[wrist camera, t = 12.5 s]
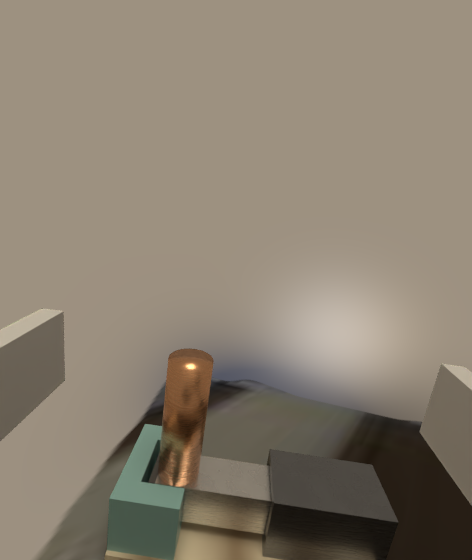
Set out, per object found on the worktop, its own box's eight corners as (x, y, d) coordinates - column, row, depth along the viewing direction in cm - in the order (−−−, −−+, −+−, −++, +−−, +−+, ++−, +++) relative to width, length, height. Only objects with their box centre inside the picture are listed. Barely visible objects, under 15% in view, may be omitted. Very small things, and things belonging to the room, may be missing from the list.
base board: (350, 503, 37) (353, 495, 37) (385, 610, 27) (389, 600, 27) (142, 471, 37) (143, 463, 37) (104, 565, 28) (104, 555, 27)
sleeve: (358, 511, 35) (372, 464, 33) (380, 575, 29) (398, 522, 27) (260, 495, 35) (269, 449, 34) (262, 556, 29) (273, 503, 28)
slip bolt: (292, 500, 34) (322, 367, 30) (297, 540, 30) (333, 393, 26) (157, 479, 34) (170, 345, 30) (145, 516, 30) (158, 366, 26)
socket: (192, 473, 37) (197, 431, 35) (173, 560, 28) (179, 509, 26) (142, 465, 37) (145, 423, 35) (106, 550, 28) (109, 498, 26)
